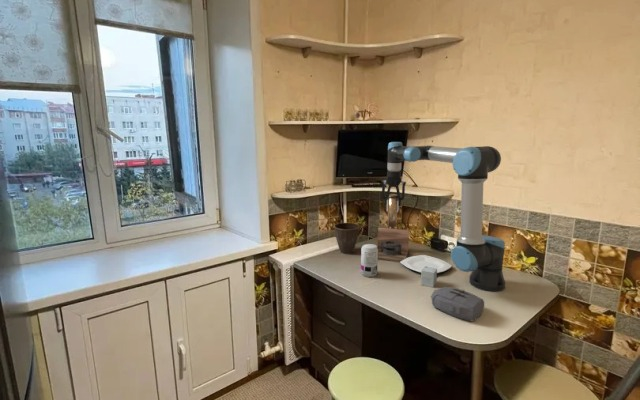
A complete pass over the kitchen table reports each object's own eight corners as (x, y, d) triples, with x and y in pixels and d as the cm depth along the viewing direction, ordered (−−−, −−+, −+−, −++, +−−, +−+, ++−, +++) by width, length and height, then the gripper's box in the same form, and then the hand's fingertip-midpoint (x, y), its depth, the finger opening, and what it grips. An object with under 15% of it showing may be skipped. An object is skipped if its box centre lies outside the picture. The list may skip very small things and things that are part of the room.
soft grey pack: (487, 312, 138) (440, 295, 152) (489, 293, 136) (442, 277, 150) (471, 326, 128) (423, 307, 142) (473, 306, 126) (424, 288, 140)
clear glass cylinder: (396, 227, 193) (397, 196, 189) (386, 226, 195) (387, 195, 191) (397, 225, 198) (398, 194, 194) (387, 224, 200) (389, 193, 196)
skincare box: (433, 287, 159) (434, 273, 157) (420, 284, 162) (421, 270, 160) (436, 282, 164) (437, 268, 162) (423, 280, 167) (424, 265, 166)
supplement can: (357, 274, 174) (358, 246, 171) (367, 269, 180) (367, 242, 177) (370, 279, 168) (371, 250, 165) (380, 273, 174) (381, 245, 171)
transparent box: (405, 262, 188) (406, 239, 186) (372, 258, 194) (373, 236, 191) (408, 251, 205) (409, 230, 202) (378, 248, 211) (378, 227, 208)
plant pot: (345, 245, 216) (345, 221, 213) (364, 251, 206) (364, 225, 203) (329, 251, 206) (329, 226, 203) (348, 258, 196) (348, 231, 193)
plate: (458, 269, 179) (458, 266, 178) (427, 280, 167) (428, 276, 166) (423, 256, 198) (423, 252, 197) (394, 264, 186) (394, 261, 185)
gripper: (411, 170, 190) (409, 210, 195) (379, 168, 196) (377, 208, 201) (410, 171, 183) (408, 213, 188) (376, 170, 189) (375, 211, 194)
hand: (392, 211), depth 194 cm, fingers closed on clear glass cylinder, 5 cm apart
